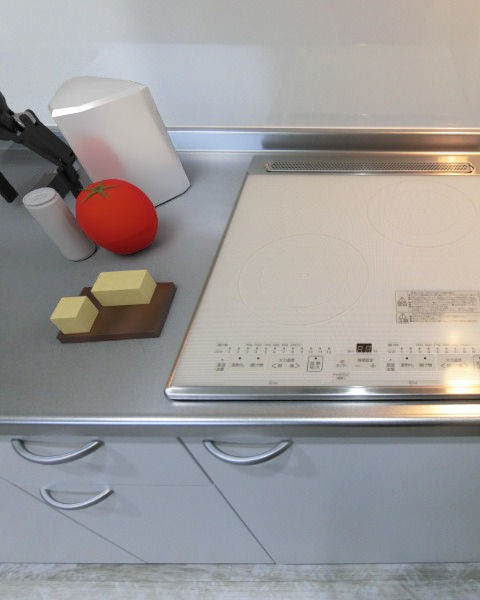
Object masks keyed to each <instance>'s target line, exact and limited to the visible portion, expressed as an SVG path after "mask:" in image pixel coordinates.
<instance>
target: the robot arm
mask: <svg viewBox="0 0 480 600" xmlns="http://www.w3.org/2000/svg"><path fill="white" fill-rule="evenodd" d="M18 132H19V133H20V134H18ZM0 141H3V142H13V143H15V144H17V145H22V146H24V147H25V148H27V149H28V150H30V151H32V152H34V153H35V154H37V155H38V156H40V157H41V158H43V159H45V160H47V161H48V162H49V163H52V164H53V165H55V166H56V169H55V170H56V171H57V172H58V174H59V175H60V177H61V178H62V180H63V181H64V182H65V184H66V185H67V187H68V188H69V191H70V193H71V194H72V196H73V198H75V200H76V199H77V197H78V195H79V194H80V193H81V191H82V190H79V189H85V187H83V185H82V182H80V174H79V173H78V170H77V171H76V170H75V168H74V166H73V164H74V162H75V161H76V162H77V160H79V159H78V158H77V156H76V155H75V153H74V151H73V150H72V148H71V147H70V145H69V144H68V143H66V142H64V140H62V139H61V138H60V137H59V136H58V135H57V134H55V133H54V132H53V130H51V129H50V128H48V126H46V125H45V123H43V122H42V121H41V120H40V119H39V117H38V116H37V114H36V113H35V112H34V111H33V110H32V109H30V108H27V109H25V110H24V111H22V112H14V110H12V109H11V108H10V107H9V106H8V103H7V100H6V97H5V96H4V94H3V93H2V91H1V90H0ZM57 167H58V168H57ZM0 196H1V197H2V198H3V199H4V200H5V202H6V203H7V204H12V203H13V202H14V201H15V200H16V198H18V196H19V193H18V192H17V191H16V189H15V188H14V186H13V185H12V184H11V183H10V181H9V180H8V179H7V178H6V177H5V175H4V174H3V172H2V171H0Z"/></svg>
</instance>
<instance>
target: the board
mask: <svg viewBox="0 0 480 600" xmlns="http://www.w3.org/2000/svg"><path fill="white" fill-rule="evenodd" d="M155 283H156V284H157V286H156V288H155V291H154V293H153V296H152V298H151V301H150V303H149V304H135V305H118V306H102V305H101V304H100V302H99V301H98V300H97V299H96V297H95V296H94V295H93V294H92V292H91V290H92V288H93V286H83V287H82V289H81V291H80V293H79V295H78V297H79V296H87V297H88V298H89V300H90V301H91V302H92V303H93V305H94V306H95V307H96V308H97V309H98V311H99V313H98V315H97V317H96V319H95V321H94V323H93V325H92V327H91V329H90V331H89V332H85V333H71V334H64V333H63V332H62V331H61V330H60V329H59V331H58V333H57V334H56V337H55V338H56V340H57V341H59V342H60V343H61V344H76V343H91V342H92V343H93V342H107V341H123V340H138V339H152V338H153V339H155V338H160V335H161V333H162V330H163V327H164V324H165V322H166V319H167V317H168V313H169V311H170V308H171V305H172V302H173V300H174V297H175V295H176V292H177V286H176V284H175V283H174V281H168V282H167V281H166V282H155Z"/></svg>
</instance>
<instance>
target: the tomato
mask: <svg viewBox="0 0 480 600" xmlns="http://www.w3.org/2000/svg"><path fill="white" fill-rule="evenodd" d="M79 190H82V191H81V193H80V194H79V195H78V197H77V199H75V205H74V210H75V217H76V219H77V221H78V223H79V225H80V227H81V229H82V230H83V231H84V233H85V234H86V235H87V236H88V237H89V238H90V239H91V240H92V241H93V243H94V244H96V245H98V246H99V247H101V248H103V249H104V250H106V251H108V252H111V253H114V254H118V255H130V254H131V255H132V254H133V253H137V252H140V251H142V250H144V249H146V248H148V247H149V246H150V245H152V243H153V242H154V239H155V238H156V236H157V233H158V229H159V217H158V213H157V209H156V206H154V205H153V204H152V202H151V200H150V199H149V198H148V197H147V195H146V194H145V193H144V192H143V191H142V190H140V189H139V188H138V187H137V186H135V185H133V184H131V183H129V182H127V181H123V180H119V179H106V180H102V181H99V182H96V183H93V182H92V183H91V184H89V185H88V186H86V187H84V189H79Z"/></svg>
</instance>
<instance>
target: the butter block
mask: <svg viewBox="0 0 480 600" xmlns="http://www.w3.org/2000/svg"><path fill="white" fill-rule="evenodd" d="M156 283H157V282H156V281H155V280H154V278H153V276H152V275H151V273H150V272H149V269H134V270H132V269H131V270H114V271H100V273H99V274H98V276H97V278H96V280H95V281H94V284H93V286H92V287H93V288H92V290H91V292H92V294H93V295H94V296H95V297H96V299H97V300H98V301H99V302H100V304H101V305H102V306H118V305H135V304H149V303H150V301H151V298H152V296H153V293H154V291H155V288H156V286H157V284H156Z"/></svg>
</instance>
